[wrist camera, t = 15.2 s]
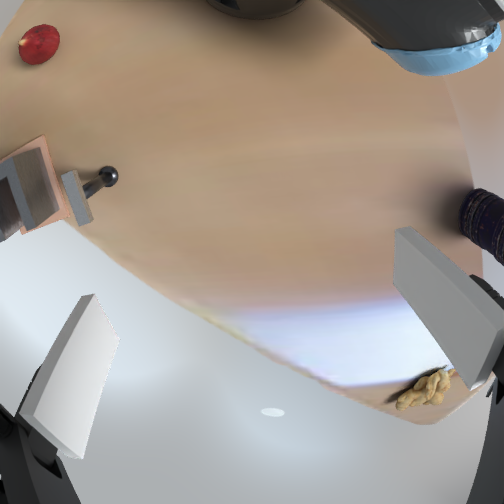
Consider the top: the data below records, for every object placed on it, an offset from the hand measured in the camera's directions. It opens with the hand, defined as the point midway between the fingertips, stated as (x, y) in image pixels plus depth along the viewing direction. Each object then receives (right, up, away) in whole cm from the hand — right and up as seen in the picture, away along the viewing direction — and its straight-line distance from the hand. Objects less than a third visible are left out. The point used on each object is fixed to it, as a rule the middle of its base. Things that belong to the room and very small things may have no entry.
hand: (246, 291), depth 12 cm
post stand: (-19, +12, +25) cm, 33 cm away
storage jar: (+41, +9, +31) cm, 52 cm away
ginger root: (+46, -33, +53) cm, 78 cm away
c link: (-33, +11, +23) cm, 42 cm away
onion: (-28, +30, +15) cm, 44 cm away
